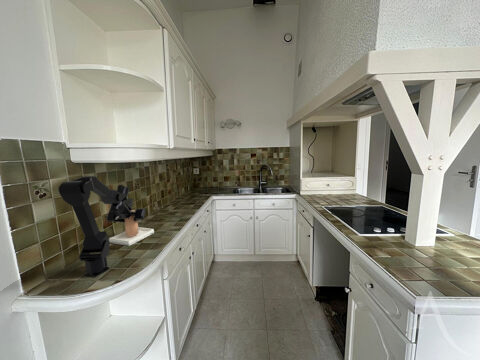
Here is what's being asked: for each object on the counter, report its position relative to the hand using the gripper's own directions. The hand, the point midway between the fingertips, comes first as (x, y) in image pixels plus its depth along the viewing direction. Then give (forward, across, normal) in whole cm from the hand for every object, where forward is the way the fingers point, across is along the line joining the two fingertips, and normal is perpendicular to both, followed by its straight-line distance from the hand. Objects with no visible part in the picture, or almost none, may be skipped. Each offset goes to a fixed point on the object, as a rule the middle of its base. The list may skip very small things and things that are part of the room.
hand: (132, 221), depth 119 cm
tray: (+5, 0, +7) cm, 9 cm away
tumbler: (+4, 0, +6) cm, 7 cm away
